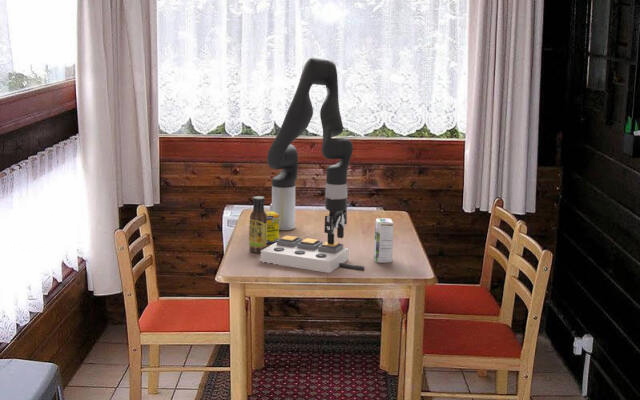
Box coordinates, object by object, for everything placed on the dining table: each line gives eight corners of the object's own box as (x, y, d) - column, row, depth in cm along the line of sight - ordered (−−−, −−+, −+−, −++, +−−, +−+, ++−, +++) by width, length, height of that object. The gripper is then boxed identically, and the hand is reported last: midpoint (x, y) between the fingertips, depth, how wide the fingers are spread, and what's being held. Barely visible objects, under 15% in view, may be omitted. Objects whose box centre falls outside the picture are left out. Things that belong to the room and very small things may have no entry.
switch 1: (280, 244, 280) (280, 238, 279) (286, 240, 284) (286, 235, 284) (292, 245, 278) (292, 240, 278) (298, 242, 282) (298, 236, 282)
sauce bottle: (245, 251, 285) (245, 197, 280) (255, 247, 290) (255, 194, 286) (260, 254, 282) (260, 199, 277) (270, 250, 287) (270, 196, 282)
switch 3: (321, 250, 274) (321, 244, 273) (327, 246, 278) (327, 240, 277) (334, 251, 272) (334, 246, 271) (339, 248, 276) (339, 242, 275)
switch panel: (260, 262, 273) (260, 246, 272) (281, 249, 288) (281, 234, 286) (355, 277, 259) (356, 260, 258) (373, 263, 274) (373, 247, 272)
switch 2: (300, 246, 277) (300, 241, 276) (306, 243, 281) (306, 237, 281) (313, 248, 275) (313, 243, 274) (318, 245, 279) (318, 239, 279)
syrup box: (373, 257, 280) (374, 218, 277) (389, 257, 280) (391, 217, 277) (375, 262, 274) (377, 222, 271) (392, 262, 275) (394, 222, 272)
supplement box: (264, 244, 294) (264, 216, 291) (258, 240, 299) (258, 212, 296) (279, 242, 296) (279, 214, 294) (272, 238, 301) (272, 210, 299)
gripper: (334, 190, 282) (333, 234, 286) (317, 198, 269) (317, 244, 273) (354, 192, 279) (353, 237, 283) (338, 201, 266) (337, 247, 270)
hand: (335, 240), depth 278 cm, fingers open, 8 cm apart
